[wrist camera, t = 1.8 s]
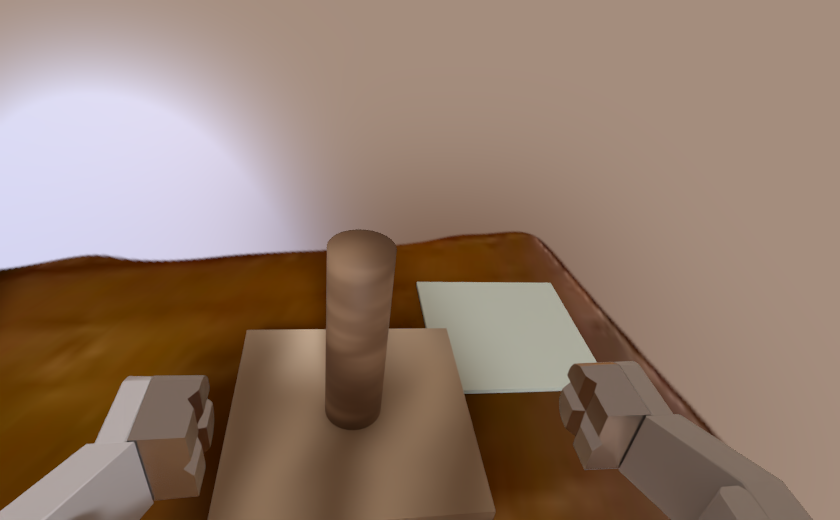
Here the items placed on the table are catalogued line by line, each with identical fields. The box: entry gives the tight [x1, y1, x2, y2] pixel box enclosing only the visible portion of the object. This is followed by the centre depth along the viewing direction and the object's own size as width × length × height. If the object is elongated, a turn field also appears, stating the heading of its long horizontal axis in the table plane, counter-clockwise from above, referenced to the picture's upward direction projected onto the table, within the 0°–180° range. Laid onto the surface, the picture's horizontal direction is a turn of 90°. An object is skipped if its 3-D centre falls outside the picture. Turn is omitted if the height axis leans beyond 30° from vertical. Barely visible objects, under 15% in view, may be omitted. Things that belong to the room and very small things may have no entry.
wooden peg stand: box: [207, 230, 496, 520], centre depth 28 cm, size 14×14×17 cm
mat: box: [416, 282, 597, 394], centre depth 46 cm, size 14×14×1 cm
